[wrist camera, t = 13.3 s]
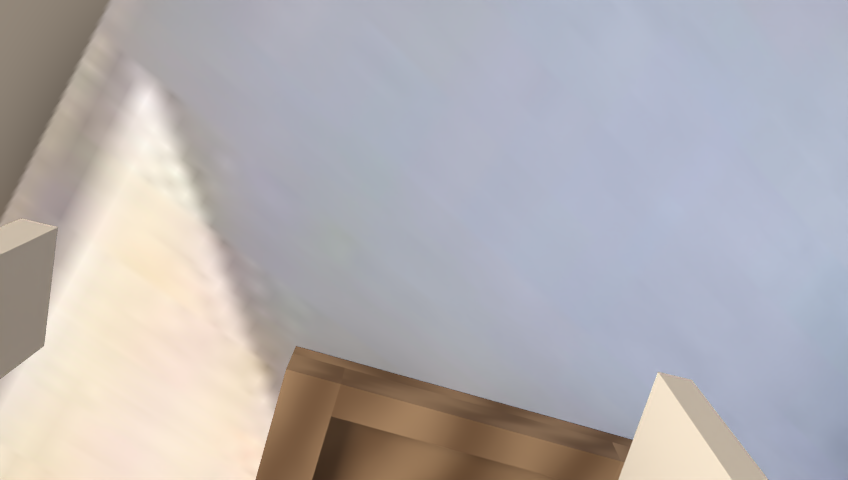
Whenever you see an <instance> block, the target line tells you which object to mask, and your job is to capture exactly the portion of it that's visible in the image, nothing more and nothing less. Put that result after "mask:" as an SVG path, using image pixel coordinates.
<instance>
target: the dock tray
mask: <svg viewBox="0 0 848 480" xmlns="http://www.w3.org/2000/svg"><path fill="white" fill-rule="evenodd" d="M632 441H633V440H631V439H627V438H624V437H620V436H617V435H613V434H609V433H606V432H602V431H599V430H595V429H591V428H588V427H584V426H581V425H577V424H573V423H570V422H566V421H563V420H559V419H556V418H552V417H548V416H545V415H541V414H538V413H534V412H530V411H527V410H523V409H520V408H516V407H512V406H509V405H505V404H502V403H498V402H495V401H491V400H487V399H484V398H480V397H477V396H473V395H469V394H466V393H462V392H459V391H455V390H451V389H448V388H444V387H441V386H437V385H434V384H430V383H426V382H423V381H419V380H416V379H412V378H408V377H405V376H401V375H398V374H394V373H391V372H387V371H383V370H380V369H376V368H373V367H369V366H365V365H362V364H358V363H355V362H351V361H347V360H344V359H340V358H337V357H333V356H330V355H326V354H322V353H319V352H315V351H312V350H308V349H304V348H301V347H297V346H296V348H295V350H294V352H293V355H292V357H291V359H290V362H289V364H288V366H287V369H286V372H285V375H284V379H283V383H282V386H281V390H280V394H279V397H278V401H277V404H276V408H275V412H274V415H273V419H272V422H271V426H270V430H269V433H268V437H267V441H266V444H265V448H264V451H263V455H262V459H261V462H260V466H259V469H258V473H257V477H256V480H618V479H619V476H620V474H621V471H622V468H623V466H624V463H625V460H626V458H627V455H628V452H629V449H630V447H631V444H632Z"/></svg>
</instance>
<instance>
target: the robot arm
mask: <svg viewBox="0 0 848 480" xmlns="http://www.w3.org/2000/svg"><path fill="white" fill-rule="evenodd" d="M57 231H58V227H55V226H51V225H46V224H42V223H38V222H34V221H30V220H26V219H22V218H21V219H19V220H16V221H14V222H11V223H9V224H7V225H4V226H2V227H0V379H1V378H2V377H4V376H5V375H6V374H8V373H9V372H10V371H11V370H13V369H14V368H15V367H17V366H18V365H19V364H21V363H22V362H23V361H25V360H26V359H27V358H29V357H30V356H31V355H33V354H34V353H35V352H37V351H38V350H39V349H40V348H42V347H43V346H44V342H45V334H46V325H47V316H48V308H49V299H50V291H51V282H52V274H53V265H54V256H55V248H56V239H57ZM618 480H768V479H767V477H766V476H765V475H764V473H763V472H762V471H761V470H760V468H759V467H758V466H757V464H756V463H755V462H754V460H753V459H752V458H751V457H750V455H749V454H748V453H747V451H746V450H745V449H744V447H743V446H742V445H741V444H740V442H739V441H738V440H737V438H736V437H735V436H734V434H733V433H732V432H731V431H730V429H729V428H728V427H727V425H726V424H725V423H724V421H723V420H722V419H721V417H720V416H719V415H718V414H717V412H716V411H715V410H714V408H713V407H712V406H711V404H710V403H709V402H708V401H707V399H706V398H705V397H704V395H703V394H702V393H701V391H700V390H699V389H698V388H697V386H696V385H695V384H694V382H693V381H692V380H690V379H686V378H681V377H677V376H673V375H669V374H665V373H661V372H658V374H657V376H656V379H655V382H654V385H653V387H652V390H651V393H650V395H649V398H648V401H647V403H646V406H645V409H644V412H643V414H642V417H641V420H640V422H639V425H638V428H637V431H636V433H635V436H634V439H633V441H632V444H631V447H630V449H629V452H628V455H627V458H626V460H625V463H624V466H623V468H622V471H621V474H620V476H619V479H618Z"/></svg>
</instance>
